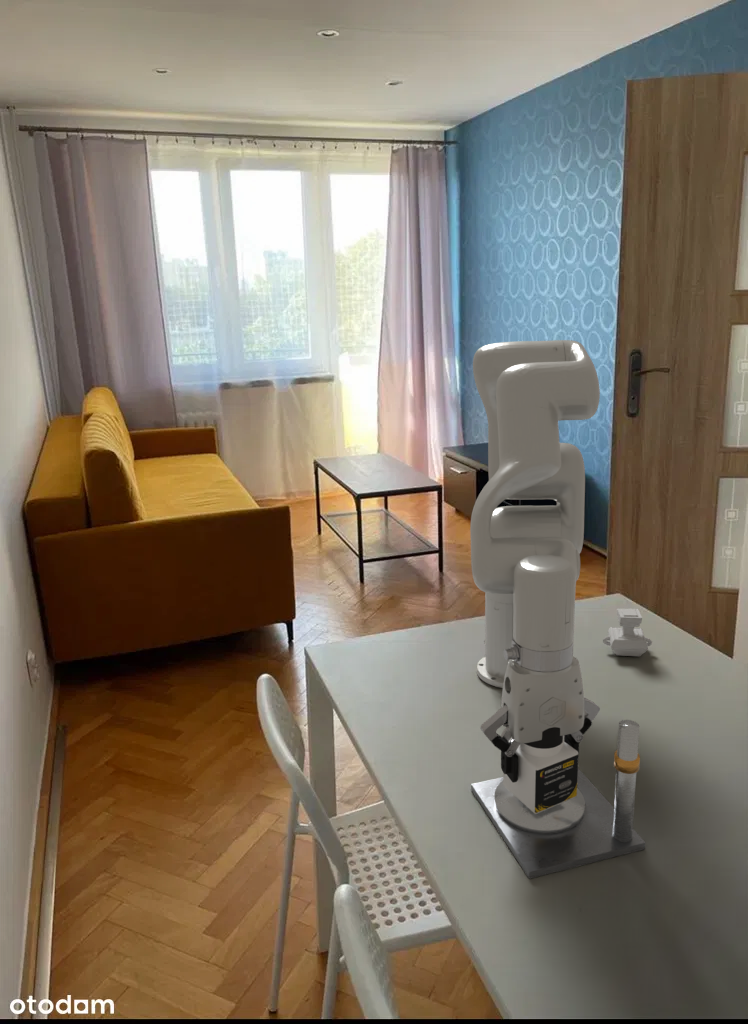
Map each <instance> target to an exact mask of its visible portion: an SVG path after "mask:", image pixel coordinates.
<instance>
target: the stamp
mask: <svg viewBox="0 0 748 1024" xmlns="http://www.w3.org/2000/svg"><path fill="white" fill-rule="evenodd" d="M616 616H617V620H618V624H619V626H620V627H619V626H610V627H609V628H608V630H607V636H605V637H604V638H603V639H602V643H603V644H604V645H606V646H610V648H611V650H612V652H613V653H614V654H615V655H616V656H623V657H625V656H626V657H627V656H628V657H641V656H642V655H643V654H644V653H646V652H647V651H648V650H649V647H650V646H651V645H652V644H653V641H652V639H651V638H648V637H646V636H645V634H644V631H643V628H642V627H640V626H641V624H642V621H643V616H642V614H641V612H640V610H639V608H616Z"/></svg>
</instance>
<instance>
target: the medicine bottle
mask: <svg viewBox="0 0 748 1024" xmlns="http://www.w3.org/2000/svg"><path fill="white" fill-rule="evenodd" d="M511 739H512V738H511ZM511 739H510V740H511ZM510 740H509V742H510ZM515 753H516V754H517V755H518V780H517V782H512V781H511V780H510V778H509V777H508V776H507V774H504V773H503V772H502V777H503V785H504V787H505V788H507V789H508V790H509V791H510V792H511V793H512V794H513V795H514V796H515V797H517V798H518V799H519V800H520V801H521V802H522V803H523V804H524V805H526V806H527V807H528V808H529V809H530V810H531V811H532V812H533V813H535V814H537V813H540V812H542V811H544V810H547V809H549V808H551V807H554V806H556V805H559V804H561V803H563V802H566V801H568V800H570V799H573V798H575V797H576V796H577V777H578V768H579V757H578V751H576V750H575V749H574V748H572V747H571V746H570V745H568V744H567V743H566V742H564V736H560V728H558V727H553V728H548V729H546V730H544V731H543V732H542V740H539V741H535V742H530V743H521V744H520V745H519V747H518V748H517V750H516V752H515Z"/></svg>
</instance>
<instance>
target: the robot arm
mask: <svg viewBox="0 0 748 1024" xmlns="http://www.w3.org/2000/svg"><path fill="white" fill-rule="evenodd" d="M472 370H473V371H472V372H473V379H474V381H475V382H474V383H475V387H476V388H477V392H478V395H479V397H480V399H481V402H482V404H483V407H484V410H485V414H486V417H487V426H488V427H487V429H488V430H487V434H488V435H487V436H488V437H487V438H488V439H487V443H488V444H487V447H488V449H487V450H488V451H487V455H488V456H487V458H488V459H487V460H488V463H487V465H488V470H487V471H488V481H487V483H486V484H485V485H484V486H483V488H482V490H481V491H480V493H479V494H478V496H477V498H476V500H475V503H474V505H473V509H472V512H471V516H470V529H469V532H470V561H471V562H470V564H471V574H472V579H473V582H474V584H475V585H476V588H477V589H479V590H480V591H482V592H484V599H485V601H484V602H485V603H484V607H485V609H484V617H485V619H484V622H485V624H484V627H485V628H484V633H485V634H484V640H483V644H484V646H485V647H484V648H485V649H484V655H485V656H483V657H482V658H481V659H480V660H478V661H477V664H476V673H477V677H479V678H480V680H482V681H483V682H485V683H486V684H487V685H490V686H493V687H496V688H500V689H502V692H501V705H500V709H499V710H497V711H496V712H494V714H493V715H491V716H490V717H489V718H488V719H487V720H485V721H484V722H483V723H482V724H481V725H480V727H479V728H480V730H481V731H482V733H483V734H484V735H485V737H486V738H487V739H488V741H490V742H491V744H492V745H493V746H494V747H495V748H497V750H499V751H500V768H501V771H502V774H503V773H504V774H507V776H508V777H509V778H510V780H511V781H512V782H517V780H518V755H517V754H516V753H515V752H516V750H517V748H518V747H519V745H520V744H521V743H530V742H535V741H539V740H542V732H543V731H544V730H546V729H548V728H553V727H558V728H560V736H564V742H566V743H567V744H568V745H570V746H571V747H572V748H574V749H575V750H576V751H578V758H579V756H580V749H579V748H580V742H582V741H583V740H584V734H586V732H587V731H588V730H589V729H590V727H592V725H593V721H594V720H595V719H596V717H597V715H598V713H599V712H600V710H601V708H600V706H599V705H598V704H596V703H595V702H594V701H592V700H590V699H588V698H586V697H585V695H584V693H585V692H584V684H583V677H582V672H581V665H580V661H579V660H578V658H577V657H575V655H574V638H575V637H574V635H575V614H576V613H575V608H576V588H577V587H576V586H577V581H578V580H579V578H580V572H581V556H580V554H581V553H582V549H583V545H584V535H585V497H586V496H585V495H586V494H585V493H586V469H585V462H584V456H583V454H582V452H581V450H580V449H579V448H578V447H577V446H576V445H574V444H572V443H568V442H560V431H559V428H560V427H559V421H579V420H580V421H585V420H588V419H591V418H592V417H594V415H596V412H597V411H598V407H599V404H600V396H601V395H600V394H601V392H600V391H601V390H600V382H599V378H598V373H597V370H596V367H595V364H594V363H593V360H592V358H591V357H590V355H589V354H588V351H587V350H586V348H585V347H584V345H583V344H582V343H581V342H579V341H578V340H570V339H565V340H564V339H562V340H561V339H557V340H555V339H554V340H521V341H520V340H519V341H517V340H516V341H501V342H494V343H489V344H486V345H482V346H481V347H479V348H478V349H477V350H476V352H475V353H474V355H473V359H472ZM506 500H514V501H515V500H553V501H555V502H556V505H506V506H505V505H504V506H499V505H500V504H501V503H503V502H504V501H506ZM502 726H503V727H505V728H504V729H503V731H502V733H501V735H500V734H498V733H497V731H498V730H499V729H500V728H501V727H502ZM510 739H511V740H510ZM509 740H510V742H509Z"/></svg>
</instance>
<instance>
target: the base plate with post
mask: <svg viewBox="0 0 748 1024" xmlns="http://www.w3.org/2000/svg"><path fill="white" fill-rule="evenodd" d="M639 737H640V724H639V723H638V722H636V721H634V720H631V719H622V720H620V721H619V722H618V730H617V745H616V746H617V749H616V750H614V756H613V767H614V768H615V783H614V784H615V785H614V798H613V799H614V802H613V805H612V804H611V803H610V802H609V800H608V799H606V797H605V796H604V795H603V794H602V793H601V792H600V790H599V789H598V788H597V787H596V786H595V785H594V784H593V783H592V782H591V781H590V780H589V779H588V777H587V776H586V775H585V774H584V773H583V772H582V771H581V769H580V768H579V767H578V777H577V796H576V797H575V798H573V799H570V800H568V801H566V802H563V803H561V804H559V805H556V806H554V807H551V808H549V809H547V810H544V811H542V812H540V813H537V814H535V813H533V812H532V811H531V810H530V809H529V808H528V807H527V806H526V805H524V804H523V803H522V802H521V801H520V800H519V799H518V798H517V797H515V796H514V795H513V794H512V793H511V792H510V791H509V790H508V789H507V788H505V787H504V785H503V776H502V777H500V776H499V777H497V778H491V779H488V780H487V779H486V780H483V781H478V782H474V783H470V787H471V789H470V791H471V792H472V793H473V794H474V797H475V798H476V799H477V801H478V802H479V804H480V806H481V807H482V809H483V810H484V811H485V813H486V815H487V816H488V818H489V819H490V821H491V822H492V824H493V826H494V828H495V829H496V830H497V832H498V833H499V835H500V836H501V838H502V839H503V842H504V843H505V844H506V846H507V847H508V848H509V850H510V852H511V853H512V855H513V857H514V858H515V859H516V861H517V862H518V864H519V866H520V867H521V868H522V870H523V872H524V873H525V875H526V876H527V878H528V879H533V878H537V877H541V876H545V875H549V874H552V873H556V872H560V871H565V870H568V869H573V868H576V867H579V866H584V865H588V864H592V863H595V862H600V861H603V860H608V859H612V858H615V857H619V856H623V855H627V854H631V853H635V852H639V851H642V850H643V851H644V850H646V841H645V840H644V839H643V838H642V836H640V835H639V834H638V833H637V832H636V830H635V829H634V815H635V814H634V813H635V798H636V783H637V773H638V772H639V771H640V763H641V756H640V755H641V754H639V739H640V738H639Z"/></svg>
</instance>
